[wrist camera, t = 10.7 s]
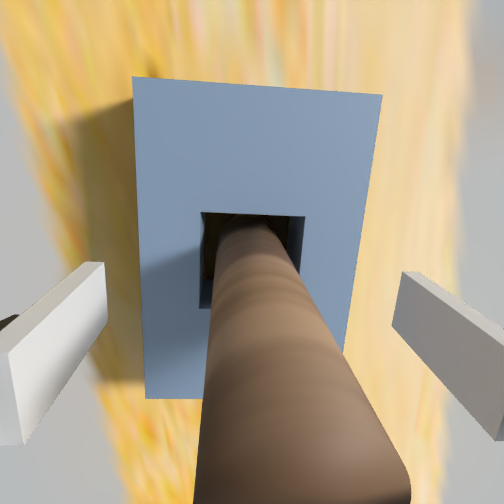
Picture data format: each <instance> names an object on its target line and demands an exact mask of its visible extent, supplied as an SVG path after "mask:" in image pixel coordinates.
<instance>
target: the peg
mask: <svg viewBox="0 0 504 504" xmlns="http://www.w3.org/2000/svg"><path fill="white" fill-rule="evenodd" d="M410 502H411V484H410V479H409V475H408V473H407V470H406V467H405V465H404V464H403V462H402V460H401V458H400V456H399V455H398V453H397V451H396V449H395V447H394V446H393V444H392V442H391V440H390V438H389V437H388V435H387V433H386V431H385V429H384V428H383V426H382V424H381V422H380V420H379V419H378V417H377V415H376V413H375V411H374V410H373V408H372V406H371V404H370V402H369V401H368V399H367V397H366V395H365V393H364V392H363V390H362V388H361V386H360V384H359V382H358V381H357V379H356V377H355V375H354V373H353V372H352V370H351V368H350V366H349V364H348V363H347V361H346V359H345V357H344V355H343V354H342V352H341V350H340V348H339V346H338V345H337V343H336V341H335V339H334V337H333V336H332V334H331V332H330V330H329V328H328V327H327V325H326V323H325V321H324V319H323V318H322V316H321V314H320V312H319V310H318V309H317V307H316V305H315V303H314V301H313V300H312V298H311V296H310V294H309V292H308V290H307V289H306V287H305V285H304V283H303V281H302V280H301V278H300V276H299V274H298V272H297V271H296V269H295V267H294V265H293V263H292V262H291V260H290V258H289V256H288V254H287V253H286V251H285V249H284V247H283V245H282V244H281V242H280V240H279V238H278V236H277V235H276V233H275V231H274V229H273V227H272V226H271V224H270V223H269V222H268V221H267V220H266V219H264V218H263V217H261V216H259V215H256V214H239V215H236V216H234V217H232V218H230V219H229V220H228V221H227V222H226V223H225V224H224V225H223V226H222V228H221V230H220V232H219V235H218V241H217V251H216V262H215V273H214V284H213V294H212V305H211V316H210V327H209V337H208V348H207V359H206V370H205V381H204V391H203V402H202V413H201V424H200V434H199V445H198V456H197V467H196V478H195V488H194V499H193V504H410Z"/></svg>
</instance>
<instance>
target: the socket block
mask: <svg viewBox="0 0 504 504" xmlns="http://www.w3.org/2000/svg"><path fill="white" fill-rule="evenodd" d="M132 85H133V109H134V133H135V157H136V181H137V206H138V230H139V254H140V278H141V302H142V327H143V351H144V375H145V399H203V391H204V381H205V370H206V359H207V348H208V337H209V327H210V316H211V305H212V294H213V284H214V280H208V279H204V262H205V212H214V213H237V214H260V215H283V216H290V219H289V230H288V241H287V252H286V253H287V254H288V256H289V258H290V260H291V262H292V263H293V265H294V267H295V269H296V271H297V272H298V274H299V276H300V278H301V280H302V281H303V283H304V285H305V287H306V289H307V290H308V292H309V294H310V296H311V298H312V300H313V301H314V303H315V305H316V307H317V309H318V310H319V312H320V314H321V316H322V318H323V319H324V321H325V323H326V325H327V327H328V328H329V330H330V332H331V334H332V336H333V337H334V339H335V341H336V343H337V345H338V346H339V348H340V350H341V352H342V354H343V348H344V342H345V335H346V329H347V322H348V316H349V309H350V303H351V296H352V290H353V283H354V277H355V270H356V264H357V257H358V251H359V245H360V238H361V232H362V225H363V219H364V212H365V206H366V199H367V193H368V186H369V180H370V173H371V167H372V160H373V154H374V147H375V141H376V135H377V128H378V122H379V115H380V109H381V102H382V96H383V95H378V94H364V93H351V92H337V91H323V90H310V89H296V88H283V87H269V86H255V85H242V84H228V83H214V82H201V81H187V80H173V79H160V78H146V77H133V76H132Z"/></svg>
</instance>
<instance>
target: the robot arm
mask: <svg viewBox="0 0 504 504" xmlns="http://www.w3.org/2000/svg"><path fill="white" fill-rule="evenodd" d="M107 322H108V308H107V294H106V280H105V267H104V262H84V263H83V264H82V265H80V266H79V267H78V268H77V269H76V270H74V271H73V272H72V273H71V274H69V275H68V276H67V277H66V278H65V279H63V280H62V281H61V282H60V283H58V284H57V285H56V286H55V287H54V288H53V289H51V290H50V291H49V292H48V293H46V294H45V295H44V296H43V297H41V298H40V299H39V300H38V301H37V302H35V303H34V304H33V305H32V306H31V307H29V308H28V309H27V310H26V311H24V312H23V313H22V314H21V315H12V316H10V317H8V318H6V319H4V320H1V321H0V446H16V445H17V446H22V445H25V443H26V442H27V440H28V439H29V437H30V436H31V434H32V433H33V431H34V430H35V429H36V427H37V426H38V424H39V423H40V421H41V420H42V418H43V417H44V415H45V414H46V412H47V411H48V409H49V408H50V406H51V405H52V403H53V402H54V400H55V399H56V397H57V396H58V394H59V393H60V391H61V390H62V389H63V387H64V386H65V384H66V383H67V381H68V380H69V378H70V377H71V375H72V374H73V372H74V371H75V370H76V368H77V367H78V365H79V364H80V362H81V361H82V359H83V358H84V356H85V355H86V353H87V352H88V350H89V349H90V347H91V346H92V344H93V343H94V342H95V340H96V339H97V337H98V336H99V334H100V333H101V331H102V330H103V328H104V327H105V325H106V324H107ZM392 327H393V328H394V329H395V330H396V332H397V333H398V334H399V335H400V336H401V337H402V338H403V339H404V340H405V342H406V343H407V344H408V345H409V346H410V347H411V348H412V349H413V350H414V352H415V353H416V354H417V355H418V356H419V357H420V358H421V359H422V360H423V362H424V363H425V364H426V365H427V366H428V367H429V368H430V369H431V370H432V372H433V373H434V374H435V375H436V376H437V377H438V378H439V379H440V380H441V382H442V383H443V384H444V385H445V386H446V387H447V388H448V389H449V391H450V392H451V393H452V394H453V395H454V396H455V397H456V398H457V399H458V401H459V402H460V403H461V404H462V405H463V406H464V407H465V408H466V409H467V410H468V412H469V413H470V414H471V415H472V416H473V417H474V418H475V419H476V421H477V422H478V423H479V424H480V425H481V426H482V427H483V428H484V429H485V430H486V432H488V434H489V435H490V436H491V437H492V438H493V439H494V441H504V329H503V328H501V327H500V326H498V325H497V324H496V323H494V322H493V321H491V320H490V319H488V318H487V317H485V316H484V315H482V314H481V313H479V312H477V311H476V310H475V309H473V308H472V307H470V306H469V305H467V304H466V303H464V302H463V301H461V300H460V299H458V298H457V297H455V296H454V295H452V294H451V293H449V292H448V291H446V290H445V289H443V288H442V287H440V286H439V285H437V284H436V283H434V282H433V281H431V280H430V279H428V278H427V277H425V276H424V275H422V274H421V273H419V272H404V271H402V276H401V281H400V286H399V291H398V296H397V301H396V306H395V311H394V316H393V322H392Z"/></svg>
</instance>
